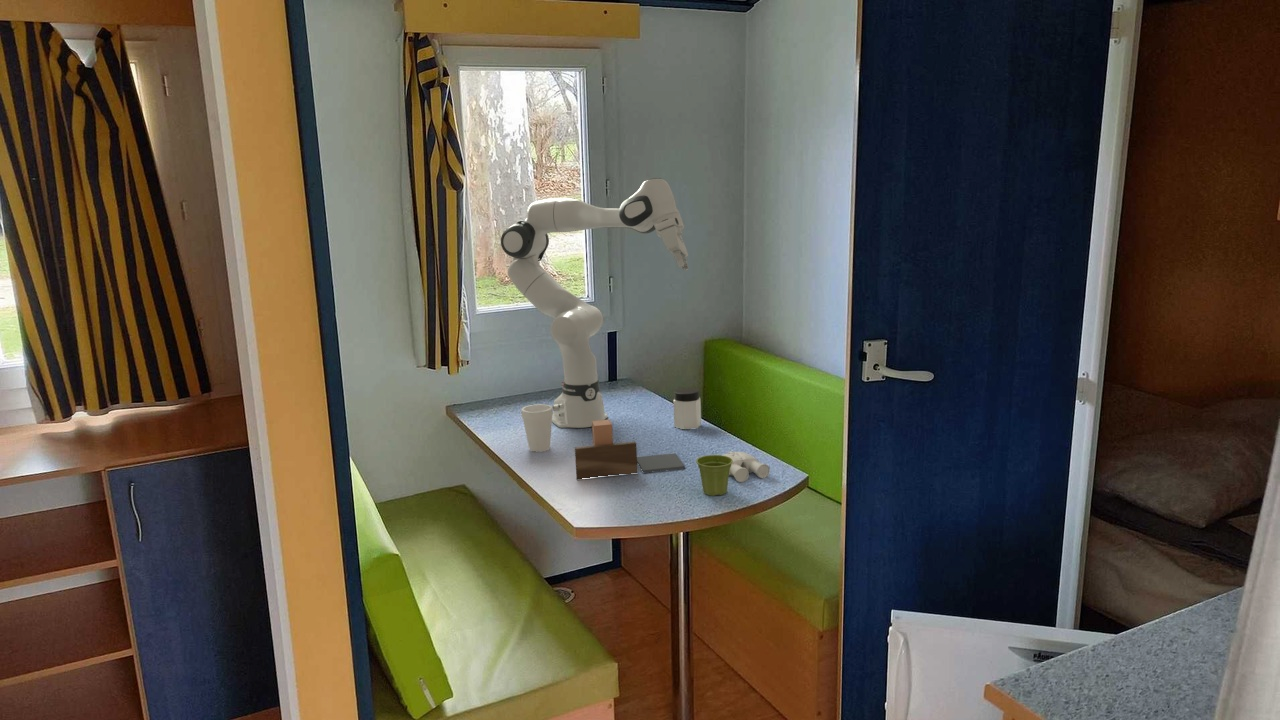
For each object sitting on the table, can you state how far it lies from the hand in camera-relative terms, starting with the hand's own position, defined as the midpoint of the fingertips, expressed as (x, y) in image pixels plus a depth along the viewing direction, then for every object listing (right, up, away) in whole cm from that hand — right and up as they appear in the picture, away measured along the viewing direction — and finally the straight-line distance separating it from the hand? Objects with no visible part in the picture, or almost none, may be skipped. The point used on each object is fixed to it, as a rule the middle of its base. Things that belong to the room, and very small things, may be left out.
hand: (683, 267), depth 280 cm
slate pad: (-8, -59, -23) cm, 64 cm away
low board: (-23, -61, -31) cm, 72 cm away
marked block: (-24, -60, -26) cm, 70 cm away
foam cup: (-45, -56, -4) cm, 72 cm away
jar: (+2, -51, +12) cm, 52 cm away
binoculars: (+14, -60, -32) cm, 70 cm away
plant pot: (+6, -63, -47) cm, 79 cm away
